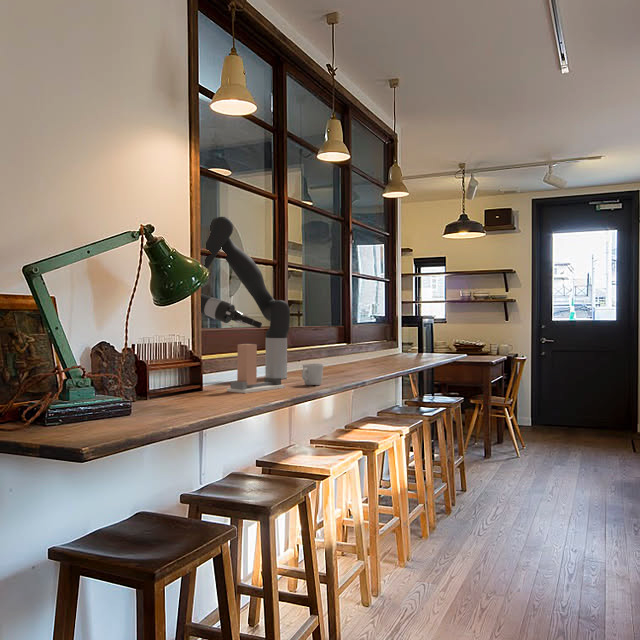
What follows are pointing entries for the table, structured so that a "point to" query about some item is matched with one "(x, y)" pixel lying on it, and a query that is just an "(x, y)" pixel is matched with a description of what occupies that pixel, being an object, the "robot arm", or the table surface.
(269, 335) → the robot arm
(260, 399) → the table surface
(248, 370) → the block
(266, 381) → the rail board
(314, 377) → the cup
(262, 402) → the table surface
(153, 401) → the table surface
